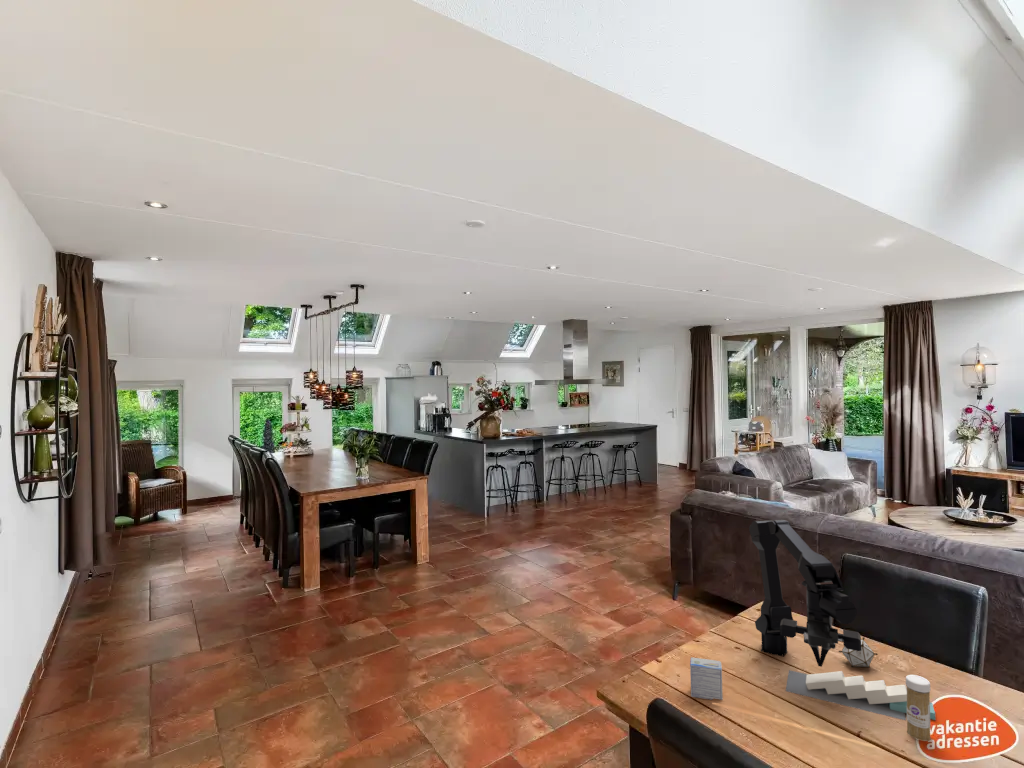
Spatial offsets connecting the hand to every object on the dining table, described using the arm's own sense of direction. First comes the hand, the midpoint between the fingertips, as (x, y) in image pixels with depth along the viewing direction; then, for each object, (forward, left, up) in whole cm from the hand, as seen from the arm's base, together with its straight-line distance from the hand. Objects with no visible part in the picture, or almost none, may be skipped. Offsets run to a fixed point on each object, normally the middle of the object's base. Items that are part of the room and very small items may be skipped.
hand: (820, 665), depth 145 cm
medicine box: (-26, -17, -7) cm, 32 cm away
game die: (+9, +19, -7) cm, 22 cm away
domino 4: (+11, 0, -5) cm, 12 cm away
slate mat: (+5, 0, -6) cm, 8 cm away
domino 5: (+15, 0, -5) cm, 16 cm away
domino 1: (-3, 0, -5) cm, 6 cm away
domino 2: (+2, 0, -5) cm, 5 cm away
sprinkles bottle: (+20, -11, -7) cm, 24 cm away
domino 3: (+6, 0, -5) cm, 8 cm away
